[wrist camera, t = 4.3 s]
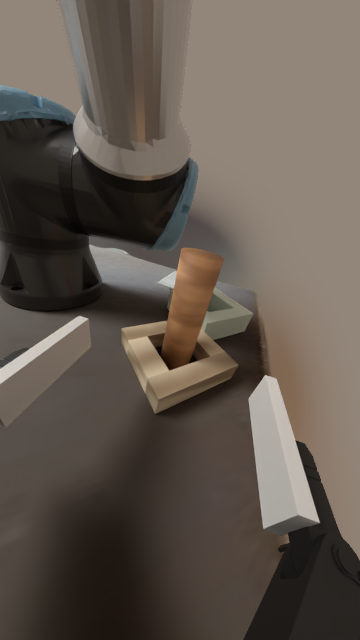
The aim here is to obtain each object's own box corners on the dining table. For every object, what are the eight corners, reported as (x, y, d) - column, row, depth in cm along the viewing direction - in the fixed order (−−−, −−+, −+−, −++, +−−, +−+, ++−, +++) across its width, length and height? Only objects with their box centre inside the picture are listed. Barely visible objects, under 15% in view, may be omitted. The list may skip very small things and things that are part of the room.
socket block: (167, 308, 35) (170, 289, 33) (208, 302, 41) (213, 286, 39) (199, 343, 28) (207, 323, 26) (244, 331, 34) (253, 313, 31)
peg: (155, 353, 24) (173, 246, 17) (179, 346, 26) (205, 249, 19) (169, 375, 21) (198, 260, 14) (194, 366, 24) (232, 262, 16)
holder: (121, 342, 24) (121, 328, 23) (186, 328, 30) (189, 316, 29) (155, 414, 17) (158, 399, 16) (231, 378, 23) (238, 365, 22)
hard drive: (174, 270, 52) (156, 281, 42) (201, 278, 51) (188, 292, 41) (173, 275, 53) (155, 288, 43) (199, 284, 52) (187, 299, 41)
